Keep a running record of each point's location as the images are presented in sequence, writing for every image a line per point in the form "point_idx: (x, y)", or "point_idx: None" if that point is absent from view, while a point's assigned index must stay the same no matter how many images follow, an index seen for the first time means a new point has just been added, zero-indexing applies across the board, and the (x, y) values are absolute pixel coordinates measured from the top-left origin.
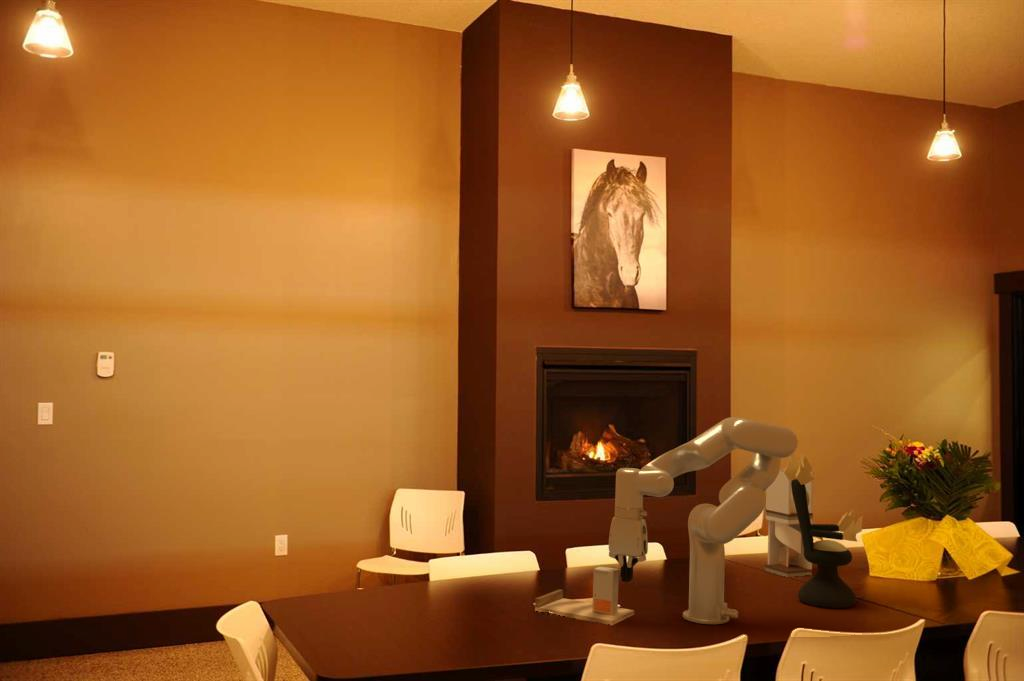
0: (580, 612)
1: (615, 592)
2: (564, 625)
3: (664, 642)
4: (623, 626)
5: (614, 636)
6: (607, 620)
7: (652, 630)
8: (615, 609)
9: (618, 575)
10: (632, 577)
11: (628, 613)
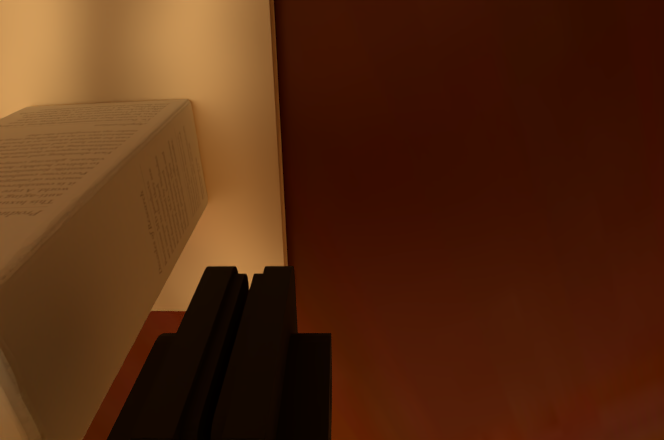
0: None
1: (148, 224)
2: (101, 414)
3: (641, 402)
4: (351, 277)
5: (391, 437)
6: None
7: (533, 257)
8: (192, 151)
9: (44, 256)
10: (330, 340)
11: (273, 71)
